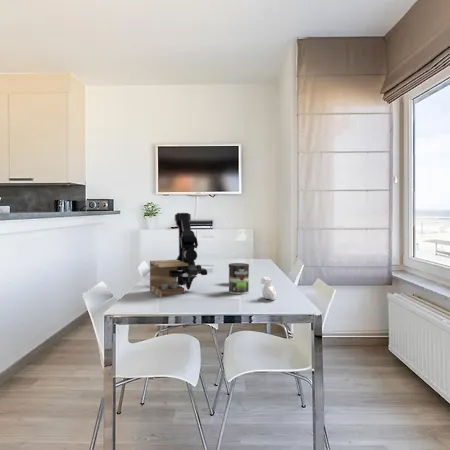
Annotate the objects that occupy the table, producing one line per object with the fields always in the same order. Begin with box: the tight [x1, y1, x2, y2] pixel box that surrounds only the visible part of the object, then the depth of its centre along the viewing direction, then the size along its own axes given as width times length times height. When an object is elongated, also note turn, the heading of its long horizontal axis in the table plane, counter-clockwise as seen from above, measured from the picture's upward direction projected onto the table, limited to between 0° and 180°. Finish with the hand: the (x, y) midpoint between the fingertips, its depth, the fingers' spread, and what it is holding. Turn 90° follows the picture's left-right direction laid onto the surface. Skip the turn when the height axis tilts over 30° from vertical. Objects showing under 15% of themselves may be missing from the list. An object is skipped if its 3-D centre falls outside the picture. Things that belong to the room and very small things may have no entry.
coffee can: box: [228, 262, 250, 295], centre depth 198 cm, size 10×10×14 cm
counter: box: [149, 259, 188, 299], centre depth 194 cm, size 18×14×15 cm
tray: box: [156, 282, 185, 297], centre depth 195 cm, size 9×12×5 cm
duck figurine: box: [260, 276, 278, 301], centre depth 183 cm, size 12×8×11 cm
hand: (188, 289), depth 199 cm, fingers closed
